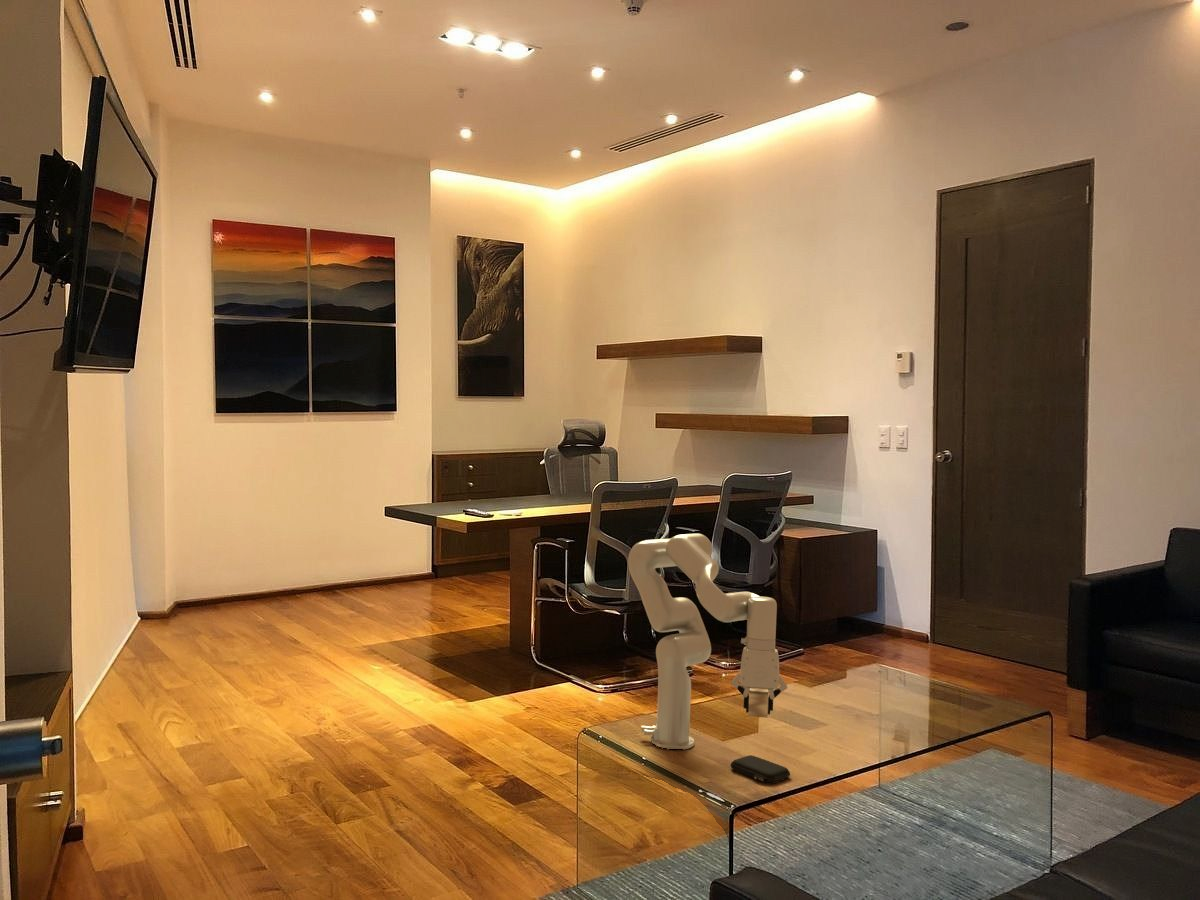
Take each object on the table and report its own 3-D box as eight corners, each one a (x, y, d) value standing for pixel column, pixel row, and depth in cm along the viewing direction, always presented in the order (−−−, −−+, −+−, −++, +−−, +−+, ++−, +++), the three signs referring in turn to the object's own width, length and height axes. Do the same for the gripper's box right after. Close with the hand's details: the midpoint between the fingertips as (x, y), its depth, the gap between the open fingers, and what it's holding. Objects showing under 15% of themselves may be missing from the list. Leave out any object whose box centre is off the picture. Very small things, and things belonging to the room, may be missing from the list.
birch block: (748, 716, 248) (749, 693, 248) (748, 710, 253) (749, 688, 253) (767, 717, 247) (768, 695, 247) (767, 712, 252) (768, 689, 252)
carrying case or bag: (724, 771, 253) (767, 788, 242) (724, 760, 253) (768, 776, 242) (749, 763, 260) (793, 779, 249) (750, 752, 260) (793, 768, 249)
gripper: (727, 644, 247) (725, 713, 248) (793, 649, 244) (791, 719, 245) (729, 638, 255) (726, 705, 255) (793, 643, 252) (790, 710, 252)
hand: (758, 711), depth 250 cm, fingers closed on birch block, 5 cm apart
